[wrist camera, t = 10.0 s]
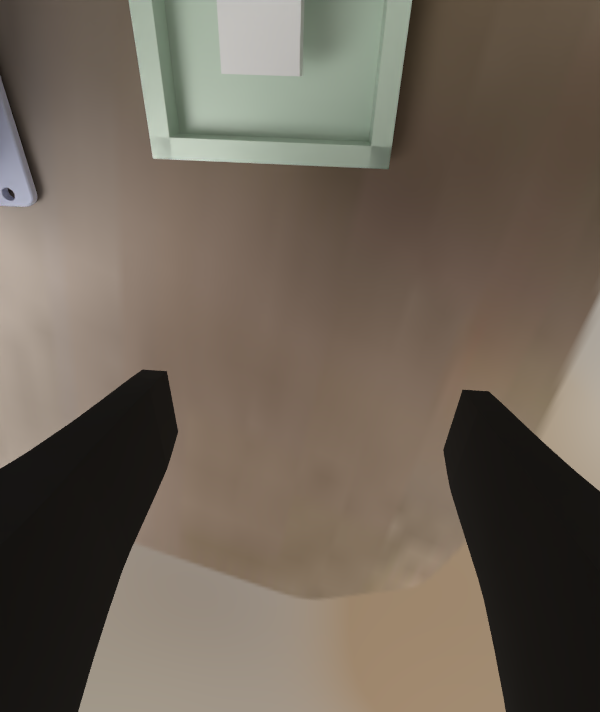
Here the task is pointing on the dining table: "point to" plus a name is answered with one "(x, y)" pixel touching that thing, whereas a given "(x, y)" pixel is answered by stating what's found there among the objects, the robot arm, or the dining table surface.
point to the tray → (273, 86)
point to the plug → (261, 37)
